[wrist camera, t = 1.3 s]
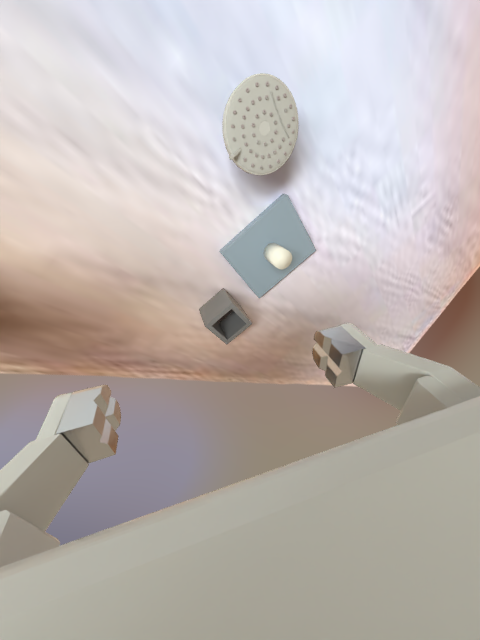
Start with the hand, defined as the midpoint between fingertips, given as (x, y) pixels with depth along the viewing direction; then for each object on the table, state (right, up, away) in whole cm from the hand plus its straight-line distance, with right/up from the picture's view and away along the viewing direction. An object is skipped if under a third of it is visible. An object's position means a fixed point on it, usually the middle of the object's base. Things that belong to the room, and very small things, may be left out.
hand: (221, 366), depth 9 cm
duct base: (+6, +15, +34) cm, 38 cm away
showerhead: (+1, +28, +24) cm, 37 cm away
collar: (-3, +4, +38) cm, 38 cm away
